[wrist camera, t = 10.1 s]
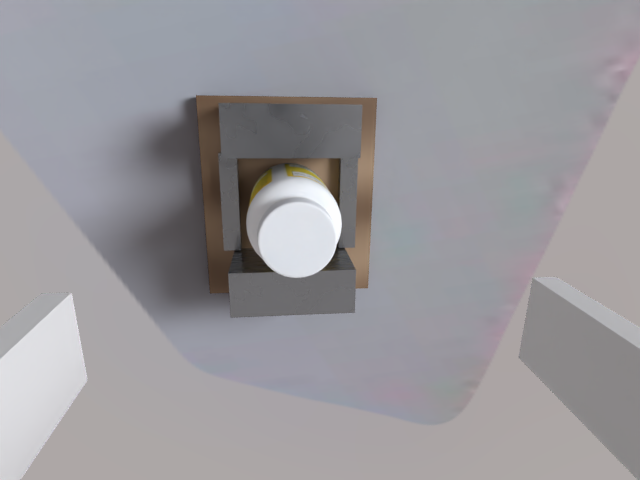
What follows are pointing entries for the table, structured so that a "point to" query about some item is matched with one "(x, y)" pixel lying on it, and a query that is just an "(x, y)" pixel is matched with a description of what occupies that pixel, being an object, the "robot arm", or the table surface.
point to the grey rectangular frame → (289, 142)
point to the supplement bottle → (293, 220)
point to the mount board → (257, 166)
